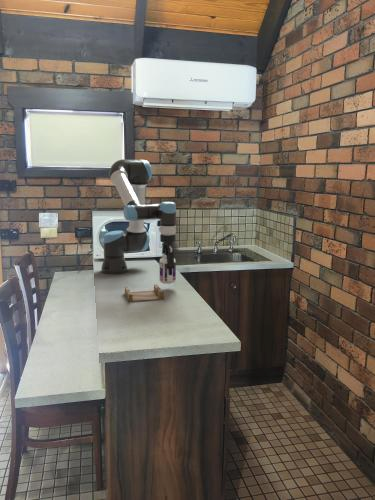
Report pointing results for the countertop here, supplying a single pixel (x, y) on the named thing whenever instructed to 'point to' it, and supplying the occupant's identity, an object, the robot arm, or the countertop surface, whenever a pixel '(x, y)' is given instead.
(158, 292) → the cradle
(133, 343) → the countertop surface
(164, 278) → the pill bottle
